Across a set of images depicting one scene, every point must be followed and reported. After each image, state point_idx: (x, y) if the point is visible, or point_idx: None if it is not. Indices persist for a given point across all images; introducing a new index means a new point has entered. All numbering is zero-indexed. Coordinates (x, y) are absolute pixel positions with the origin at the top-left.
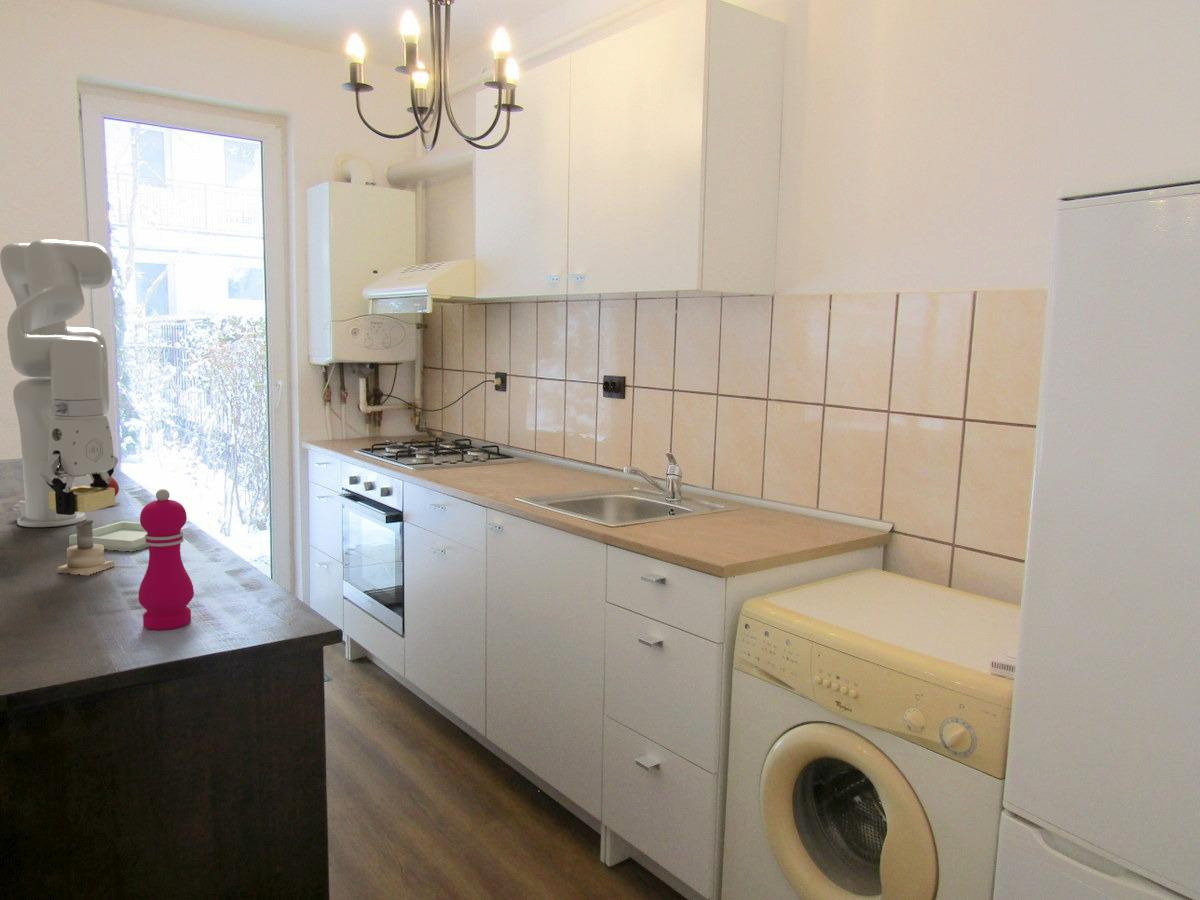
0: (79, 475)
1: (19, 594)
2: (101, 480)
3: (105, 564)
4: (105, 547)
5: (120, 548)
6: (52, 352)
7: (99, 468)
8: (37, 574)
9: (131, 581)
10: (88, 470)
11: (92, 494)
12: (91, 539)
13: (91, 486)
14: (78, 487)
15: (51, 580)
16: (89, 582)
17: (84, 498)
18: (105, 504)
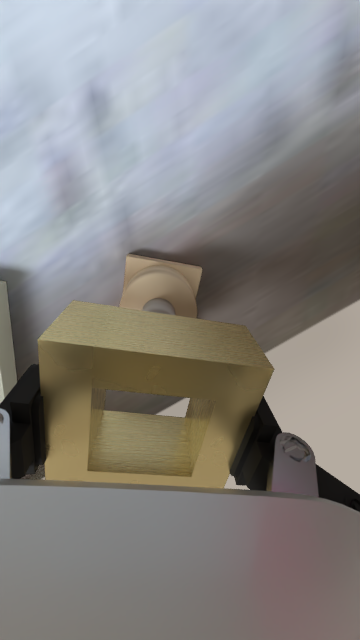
0: (323, 499)
1: (318, 310)
2: (15, 446)
3: (152, 260)
4: (10, 345)
5: (6, 313)
6: None
7: (96, 521)
8: None
9: (243, 136)
10: (242, 527)
11: (215, 358)
12: (158, 306)
13: (49, 452)
14: (93, 477)
15: (235, 311)
16: (249, 234)
17: (264, 358)
18: (133, 313)
